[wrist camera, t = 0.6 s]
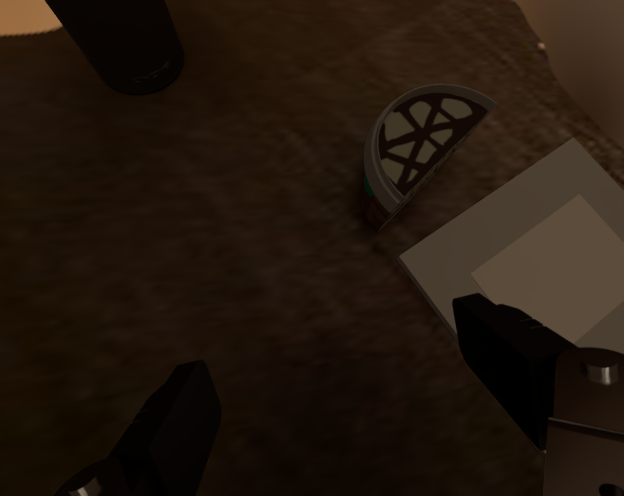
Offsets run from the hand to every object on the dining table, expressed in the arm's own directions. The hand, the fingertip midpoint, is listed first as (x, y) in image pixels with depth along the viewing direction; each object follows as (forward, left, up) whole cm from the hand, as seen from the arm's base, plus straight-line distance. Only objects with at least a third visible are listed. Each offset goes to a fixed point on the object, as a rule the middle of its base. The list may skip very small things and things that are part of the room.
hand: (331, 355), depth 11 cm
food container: (-9, +16, -20) cm, 27 cm away
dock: (+8, +24, -20) cm, 32 cm away
